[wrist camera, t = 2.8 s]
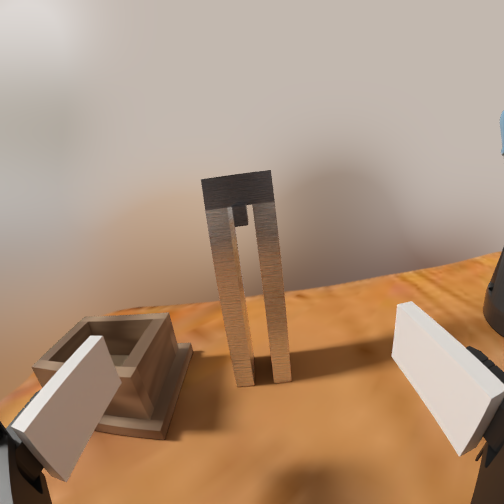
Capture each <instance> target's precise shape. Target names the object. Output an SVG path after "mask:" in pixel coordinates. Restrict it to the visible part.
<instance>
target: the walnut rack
mask: <svg viewBox="0 0 504 504" xmlns="http://www.w3.org/2000/svg"><path fill="white" fill-rule="evenodd" d="M89 336H103V337H104V340H105V343H106V345H107V348H108V351H109V353H110V356H111V358H112V361H113V363H114V366H115V368H116V371H117V373H118V375H119V378H120V380H121V382H122V383H121V385H120V386H119V388H118V390H117V391H116V393H115V395H114V397H113V398H112V400H111V402H110V403H109V405H108V407H107V409H106V410H105V412H104V414H103V416H102V417H101V419H100V421H99V423H98V425H97V426H96V428H95V430H96V431H101V432H106V433H112V434H119V435H125V436H133V437H141V438H151V439H162V440H165V437H166V434H167V431H168V427H169V424H170V421H171V418H172V414H173V411H174V408H175V405H176V402H177V399H178V396H179V392H180V389H181V386H182V383H183V380H184V377H185V374H186V371H187V368H188V365H189V362H190V359H191V356H192V353H193V349H192V345H191V343H177V341H176V337H175V334H174V330H173V326H172V322H171V319H170V315H169V313H155V314H138V315H119V316H94V317H84V318H83V319H82V320H81V321H80V322H78V323H77V324H76V325H75V326H74V327H73V328H72V329H71V330H70V331H69V332H68V333H66V334H65V336H63V337H62V338H61V339H60V340H59V341H58V342H57V343H56V344H55V345H54V346H53V347H52V348H50V349H49V350H48V351H47V352H46V353H45V354H44V355H43V356H42V357H41V358H40V359H39V360H38V361H37V362H36V363H35V364H34V365H33V366H32V369H33V371H34V373H35V375H36V376H37V378H38V380H39V382H40V384H41V386H42V388H43V387H44V386H45V385H46V384H47V382H48V381H49V380H50V379H51V378H52V377H53V376H54V374H55V373H56V372H57V371H58V370H59V369H60V368H61V367H62V366H63V364H64V363H65V362H66V361H67V360H68V359H69V358H70V357H71V356H72V355H73V354H74V352H75V351H76V350H77V349H78V348H79V347H80V346H81V345H82V344H83V343H84V342H85V341H86V340H87V339H88V338H89Z"/></svg>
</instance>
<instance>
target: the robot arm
mask: <svg viewBox="0 0 504 504" xmlns="http://www.w3.org/2000/svg"><path fill="white" fill-rule="evenodd" d="M500 128H501V137H502V150H501V152H502V155H504V111H503V112H502V114H501V117H500ZM483 313H484V316H485V318H486V320H487V322H488V323H489V324H490V326H491V327H492V328H493V329H494V330H495V331H496V332H498V333H499V334H500V335H502V336H503V337H504V248H503V250H502V253H501V256H500V258H499V261H498V263H497V266H496V268H495V271H494V273H493V276H492V279H491V281H490V283H489V285H488V287H487V290H486V295H485V301H484V306H483ZM391 357H392V358H393V359H394V361H395V362H396V363H397V365H398V366H399V368H400V369H401V370H402V372H403V373H404V375H405V376H406V377H407V379H408V380H409V382H410V383H411V384H412V386H413V387H414V389H415V390H416V392H417V393H418V394H419V396H420V397H421V399H422V400H423V402H424V403H425V405H426V406H427V408H428V409H429V411H430V412H431V413H432V415H433V416H434V418H435V419H436V421H437V422H438V424H439V426H440V427H441V429H442V430H443V432H444V433H445V435H446V436H447V438H448V439H449V441H450V443H451V444H452V446H453V447H454V449H455V450H456V452H457V454H458V455H459V457H460V456H462V455H463V454H465V453H467V452H469V451H471V450H472V449H474V448H476V447H477V445H478V443H479V442H480V440H481V439H482V437H484V438H485V440H486V441H487V442H486V443H485V445H484V446H483V448H482V449H481V451H480V452H479V454H478V455H477V457H476V460H475V461H478V460H479V458H480V457H481V456H482V460H481V465H480V469H479V474H478V478H477V482H476V486H475V490H474V493H473V497H472V500H471V504H504V372H503V371H502V370H501V369H500V368H499V367H498V366H495V364H494V363H493V362H492V361H491V360H488V357H487V356H485V355H484V354H483V353H482V352H481V351H479V350H477V349H475V348H473V347H470V346H469V347H466V348H465V347H464V346H463V345H462V344H461V343H460V342H458V341H457V340H456V339H455V338H454V337H453V336H452V335H451V334H449V333H448V332H447V331H446V330H445V329H444V328H443V327H441V326H440V325H439V324H438V323H437V322H436V321H434V320H433V319H432V318H431V317H430V316H429V315H427V314H426V313H425V312H424V311H423V310H421V309H420V308H419V307H418V306H417V305H415V304H414V303H413V302H412V301H411V302H407V303H402V304H398V305H397V313H396V324H395V333H394V341H393V349H392V356H391ZM121 383H122V382H121V380H120V378H119V375H118V373H117V371H116V368H115V366H114V363H113V361H112V358H111V356H110V353H109V351H108V348H107V345H106V343H105V340H104V337H103V336H89V338H88V339H87V340H86V341H85V342H84V343H83V344H82V345H81V346H80V347H79V348H78V349H77V350H76V351H75V352H74V354H73V355H72V356H71V357H70V358H69V359H68V360H67V361H66V362H65V363H64V364H63V366H62V367H61V368H60V369H59V370H58V371H57V372H56V373H55V374H54V376H53V377H52V378H51V379H50V380H49V381H48V382H47V384H46V385H45V386H44V387H43V388H42V389H41V390H39V391H38V392H36V393H35V394H34V396H33V397H32V398H31V399H30V402H28V403H27V404H26V405H25V408H23V409H22V410H21V411H20V412H19V413H18V415H17V416H16V417H15V418H14V420H13V421H12V422H11V423H10V424H9V426H8V427H7V428H6V429H5V427H4V426H3V424H2V423H1V422H0V504H52V502H51V498H50V494H49V491H48V487H47V482H46V478H45V476H44V474H43V473H42V472H41V471H42V469H43V468H45V469H46V470H47V471H48V473H49V474H50V475H51V476H52V477H55V478H57V479H59V480H62V481H65V482H67V481H68V479H69V477H70V475H71V473H72V471H73V469H74V467H75V465H76V463H77V461H78V459H79V458H80V456H81V454H82V452H83V450H84V448H85V446H86V445H87V443H88V441H89V439H90V437H91V435H92V434H93V432H94V430H95V428H96V426H97V425H98V423H99V421H100V419H101V417H102V416H103V414H104V412H105V410H106V409H107V407H108V405H109V403H110V402H111V400H112V398H113V397H114V395H115V393H116V391H117V390H118V388H119V386H120V385H121Z"/></svg>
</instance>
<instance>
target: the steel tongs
mask: <svg viewBox="0 0 504 504" xmlns="http://www.w3.org/2000/svg"><path fill="white" fill-rule="evenodd" d="M201 182H202V189H203V197H204V204H205V211H206V218H207V224H208V231H209V237H210V244H211V250H212V256H213V262H214V268H215V274H216V280H217V286H218V291H219V296H220V303H221V308H222V314H223V319H224V324H225V330H226V335H227V340H228V345H229V350H230V355H231V360H232V365H233V370H234V375H235V379H236V384H237V387H241V386H253V385H254V353H253V347H252V340H251V334H250V327H249V320H248V314H247V307H246V300H245V293H244V286H243V280H242V273H241V266H240V259H239V251H238V244H237V237H236V230H235V227H238V226H246V225H248V215H247V207H246V205H251V204H252V205H253V212H254V221H255V229H256V237H257V244H258V253H259V261H260V269H261V277H262V284H263V294H264V302H265V310H266V319H267V327H268V335H269V344H270V352H271V361H272V369H273V378H274V383H281V382H289V381H291V368H290V354H289V342H288V330H287V318H286V307H285V296H284V285H283V275H282V265H281V255H280V246H279V238H278V237H279V236H278V228H277V220H276V210H275V202H274V193H273V185H272V176H271V170H268V171H260V172H251V173H243V174H236V175H229V176H222V177H216V178H209V179H202V180H201Z"/></svg>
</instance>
